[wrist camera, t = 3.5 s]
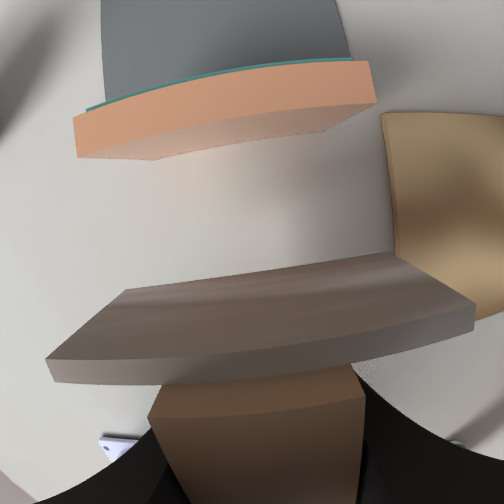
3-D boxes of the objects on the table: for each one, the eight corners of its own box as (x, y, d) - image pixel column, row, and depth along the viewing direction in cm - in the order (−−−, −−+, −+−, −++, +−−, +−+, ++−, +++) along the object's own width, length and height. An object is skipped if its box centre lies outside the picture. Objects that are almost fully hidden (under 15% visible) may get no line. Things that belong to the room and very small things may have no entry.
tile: (323, 131, 14) (377, 103, 7) (154, 160, 14) (77, 158, 7) (317, 103, 13) (366, 54, 7) (149, 132, 14) (72, 111, 7)
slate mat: (357, 96, 13) (358, 95, 13) (112, 139, 14) (110, 139, 14) (313, -55, 11) (313, -57, 10) (102, -14, 11) (101, -16, 11)
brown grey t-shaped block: (387, 387, 11) (446, 499, 5) (166, 415, 12) (123, 530, 6) (388, 251, 10) (505, 322, 4) (125, 289, 10) (20, 381, 5)
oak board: (531, 294, 16) (535, 297, 15) (394, 338, 16) (398, 343, 16) (531, 121, 13) (537, 120, 12) (380, 115, 13) (384, 113, 13)
